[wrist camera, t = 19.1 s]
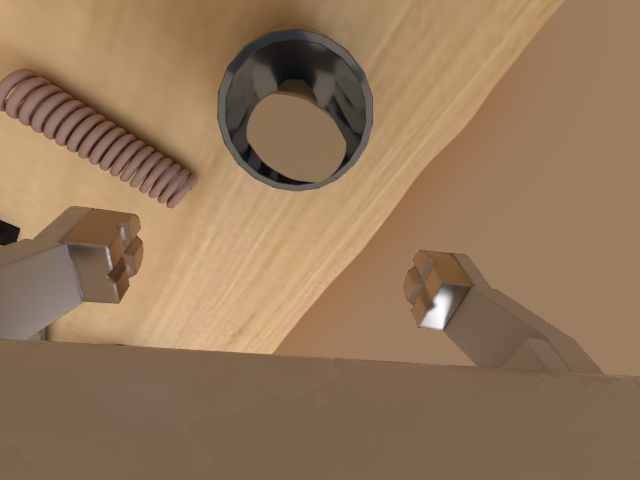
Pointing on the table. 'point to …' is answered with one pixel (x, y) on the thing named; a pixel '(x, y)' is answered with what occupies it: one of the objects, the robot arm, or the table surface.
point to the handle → (296, 133)
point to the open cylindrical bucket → (298, 63)
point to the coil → (91, 136)
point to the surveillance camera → (8, 233)
